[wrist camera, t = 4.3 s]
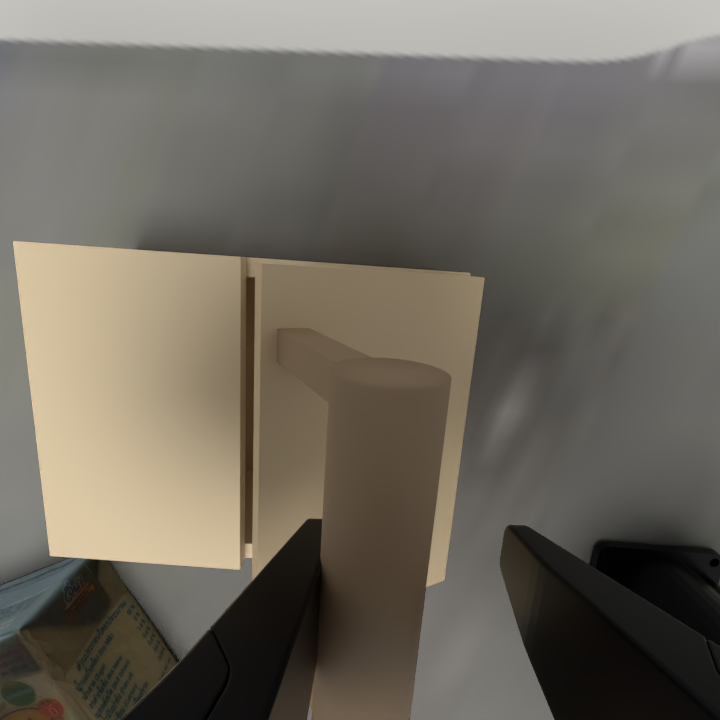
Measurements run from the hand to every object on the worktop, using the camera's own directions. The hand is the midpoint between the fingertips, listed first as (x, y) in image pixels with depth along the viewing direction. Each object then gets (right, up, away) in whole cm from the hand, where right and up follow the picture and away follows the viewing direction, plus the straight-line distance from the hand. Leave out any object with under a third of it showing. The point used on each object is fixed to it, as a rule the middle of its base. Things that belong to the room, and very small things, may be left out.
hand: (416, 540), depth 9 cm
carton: (-5, +3, +12) cm, 13 cm away
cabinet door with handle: (-1, +1, +4) cm, 4 cm away
